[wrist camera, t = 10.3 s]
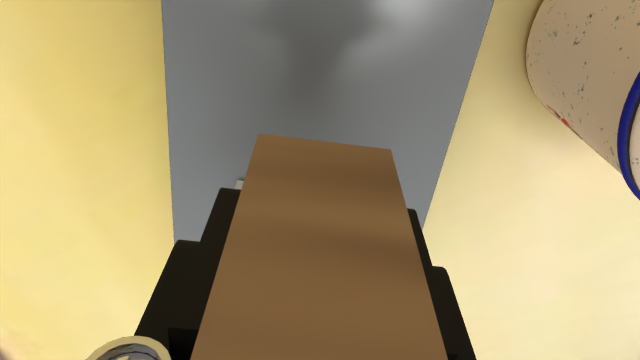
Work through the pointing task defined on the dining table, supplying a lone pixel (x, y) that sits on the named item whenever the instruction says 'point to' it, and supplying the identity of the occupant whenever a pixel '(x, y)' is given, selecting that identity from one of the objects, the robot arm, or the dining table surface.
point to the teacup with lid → (591, 75)
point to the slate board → (312, 86)
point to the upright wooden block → (319, 262)
